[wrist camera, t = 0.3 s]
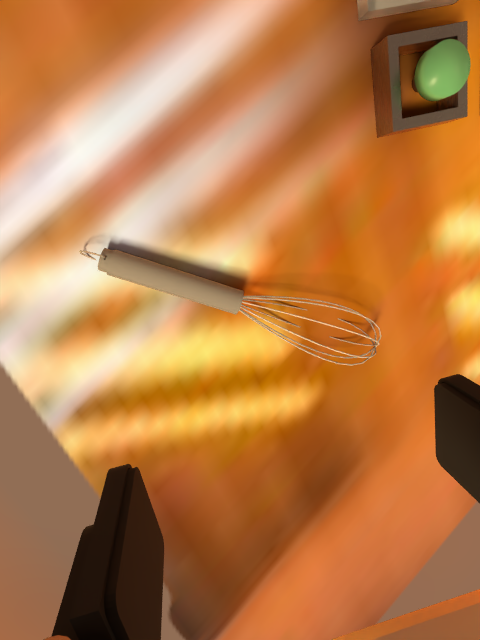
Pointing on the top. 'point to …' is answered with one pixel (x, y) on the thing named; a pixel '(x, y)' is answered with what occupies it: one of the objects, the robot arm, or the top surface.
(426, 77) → the button
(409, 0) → the tray
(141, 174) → the top surface
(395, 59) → the open wooden box
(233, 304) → the kitchen whisk
